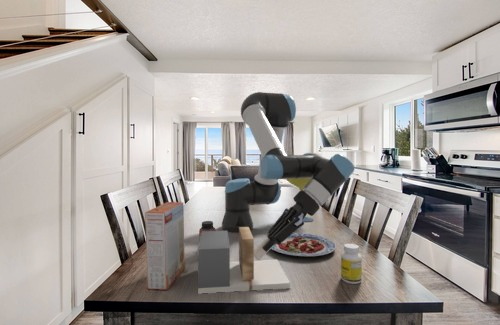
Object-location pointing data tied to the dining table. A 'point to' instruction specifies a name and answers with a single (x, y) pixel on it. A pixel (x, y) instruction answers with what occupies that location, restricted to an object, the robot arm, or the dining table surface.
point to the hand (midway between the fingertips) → (255, 256)
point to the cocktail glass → (300, 184)
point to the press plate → (246, 253)
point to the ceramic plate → (305, 245)
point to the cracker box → (164, 244)
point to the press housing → (232, 268)
